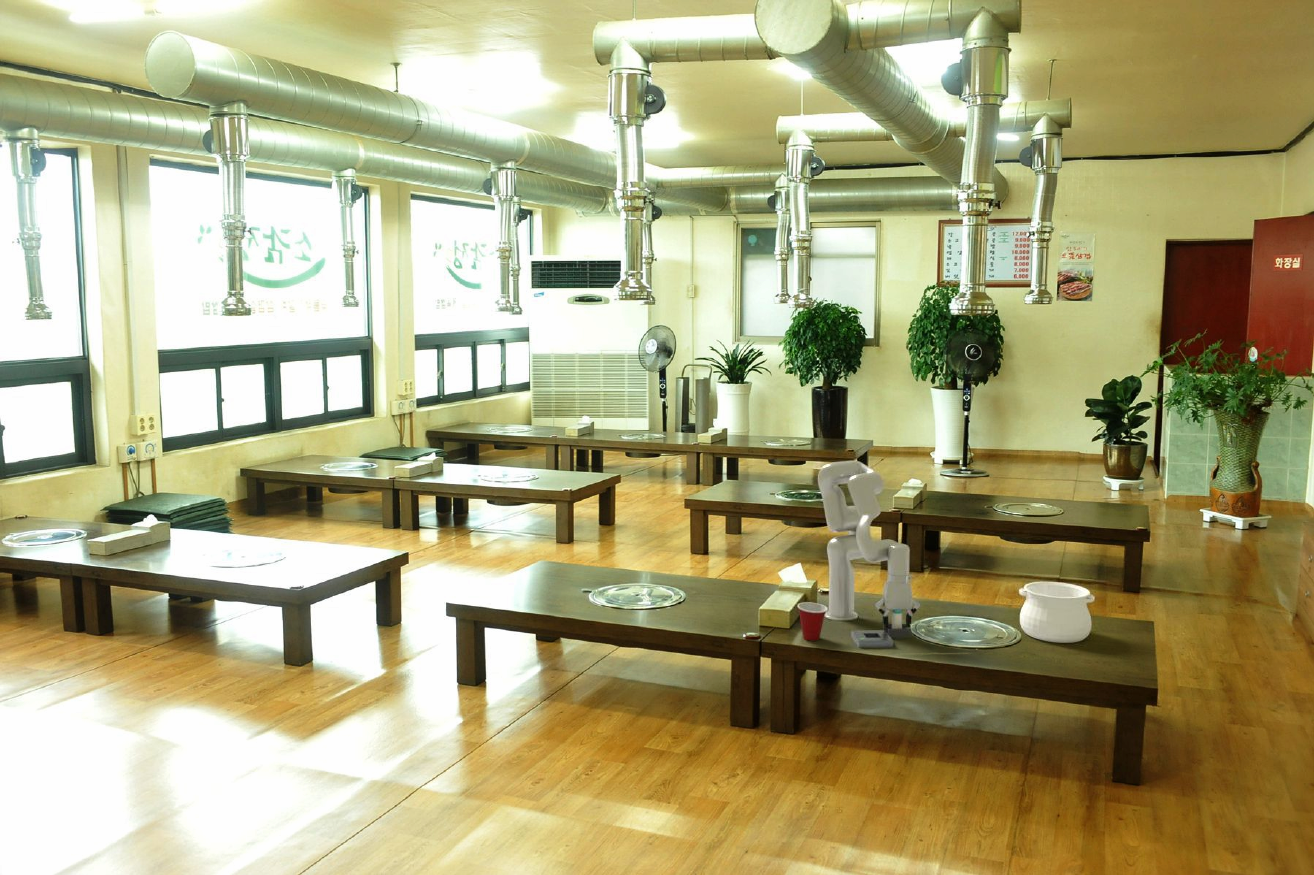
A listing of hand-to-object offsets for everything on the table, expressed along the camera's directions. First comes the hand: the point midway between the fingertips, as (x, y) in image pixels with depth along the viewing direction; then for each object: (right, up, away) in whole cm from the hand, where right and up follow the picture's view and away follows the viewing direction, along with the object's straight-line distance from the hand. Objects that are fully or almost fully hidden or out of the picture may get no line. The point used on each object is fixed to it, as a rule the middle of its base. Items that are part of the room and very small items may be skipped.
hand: (896, 625), depth 378 cm
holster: (0, -4, 0) cm, 4 cm away
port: (-11, -5, -8) cm, 14 cm away
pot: (+58, -4, +2) cm, 58 cm away
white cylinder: (0, -3, 0) cm, 3 cm away
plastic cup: (-31, -4, -2) cm, 31 cm away
